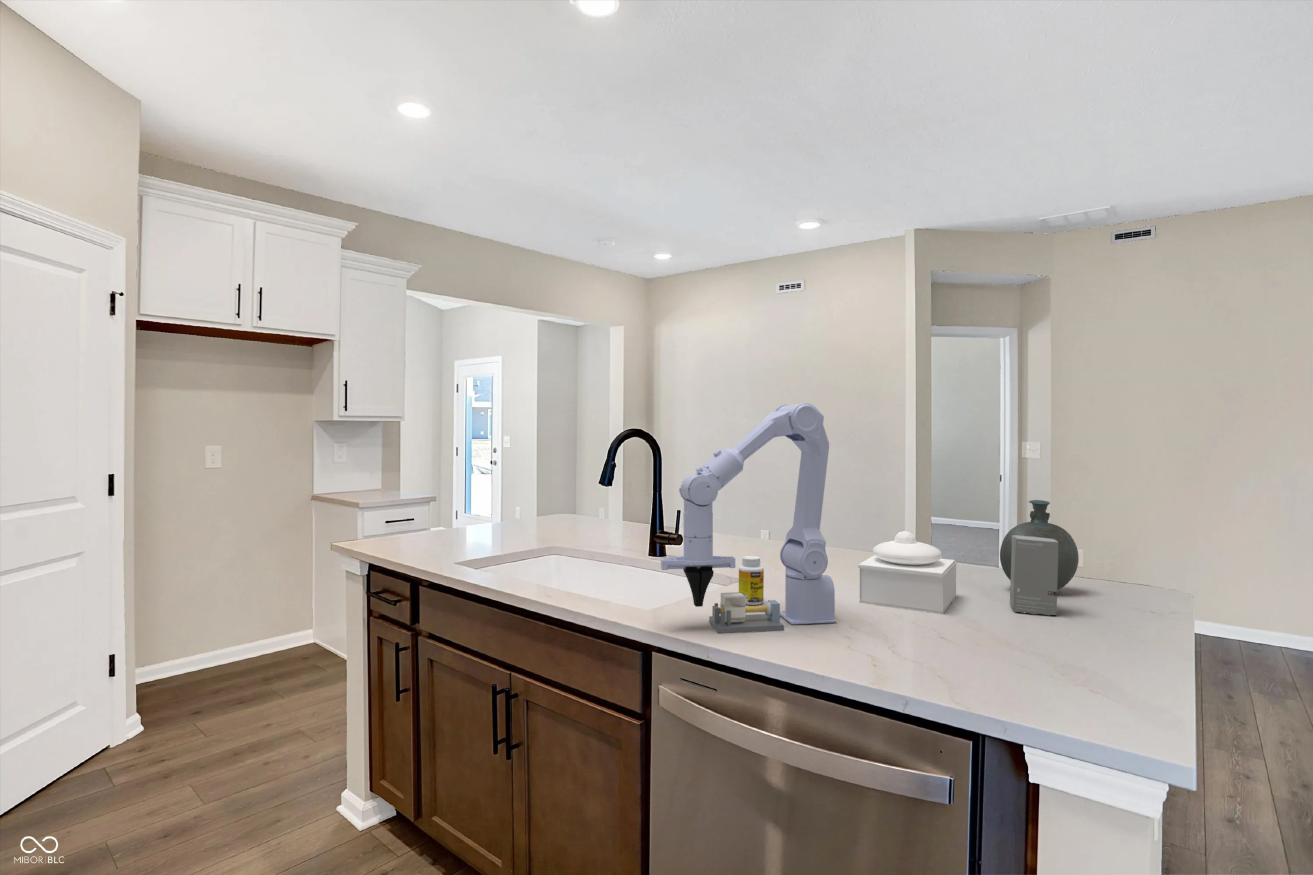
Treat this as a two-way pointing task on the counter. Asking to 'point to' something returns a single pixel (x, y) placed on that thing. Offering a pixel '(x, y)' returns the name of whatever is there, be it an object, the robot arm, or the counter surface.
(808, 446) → the robot arm
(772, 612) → the linear actuator
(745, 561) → the supplement bottle
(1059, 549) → the flask
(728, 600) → the sleeve
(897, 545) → the white lidded box
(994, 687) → the counter surface
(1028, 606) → the skincare box
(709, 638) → the counter surface
